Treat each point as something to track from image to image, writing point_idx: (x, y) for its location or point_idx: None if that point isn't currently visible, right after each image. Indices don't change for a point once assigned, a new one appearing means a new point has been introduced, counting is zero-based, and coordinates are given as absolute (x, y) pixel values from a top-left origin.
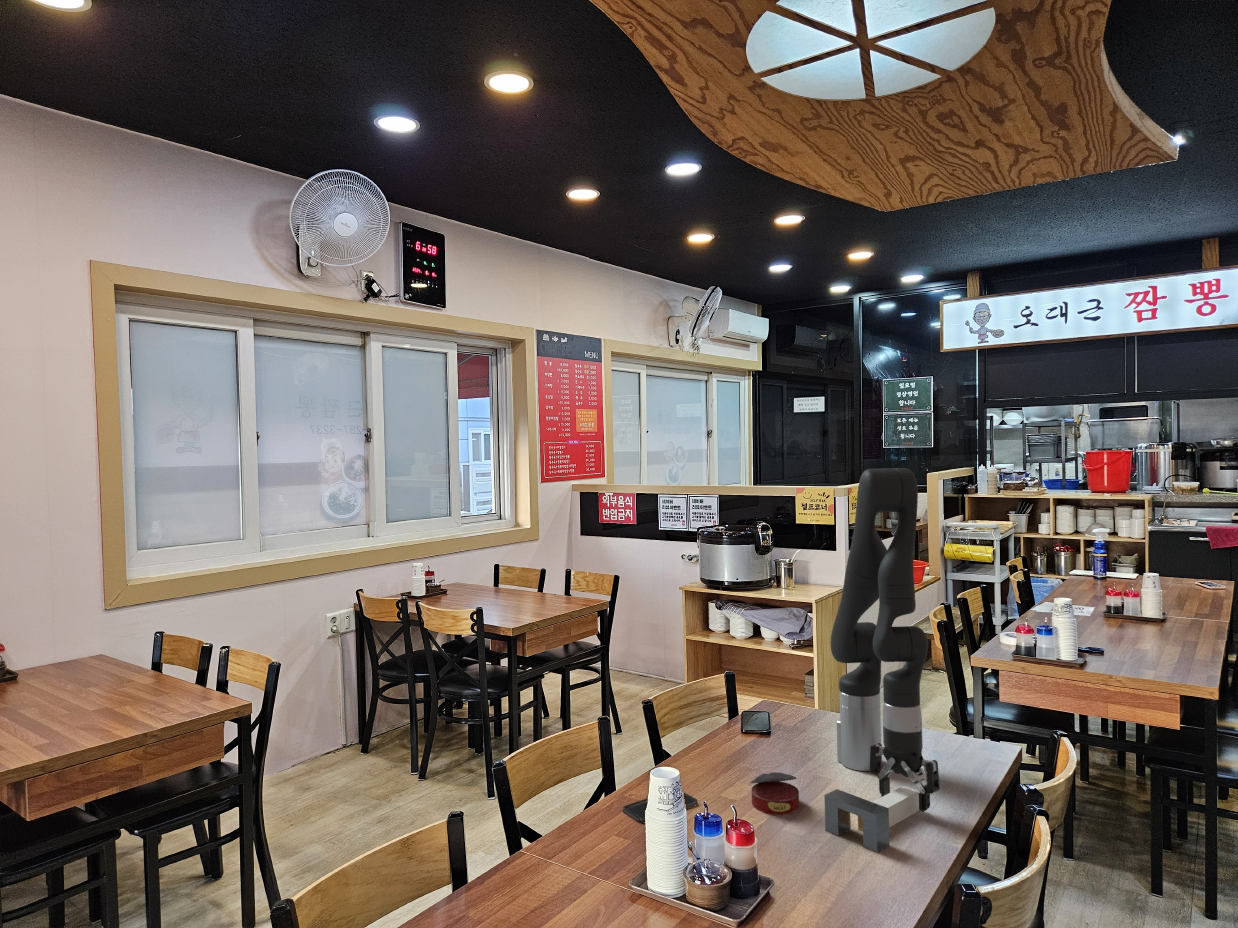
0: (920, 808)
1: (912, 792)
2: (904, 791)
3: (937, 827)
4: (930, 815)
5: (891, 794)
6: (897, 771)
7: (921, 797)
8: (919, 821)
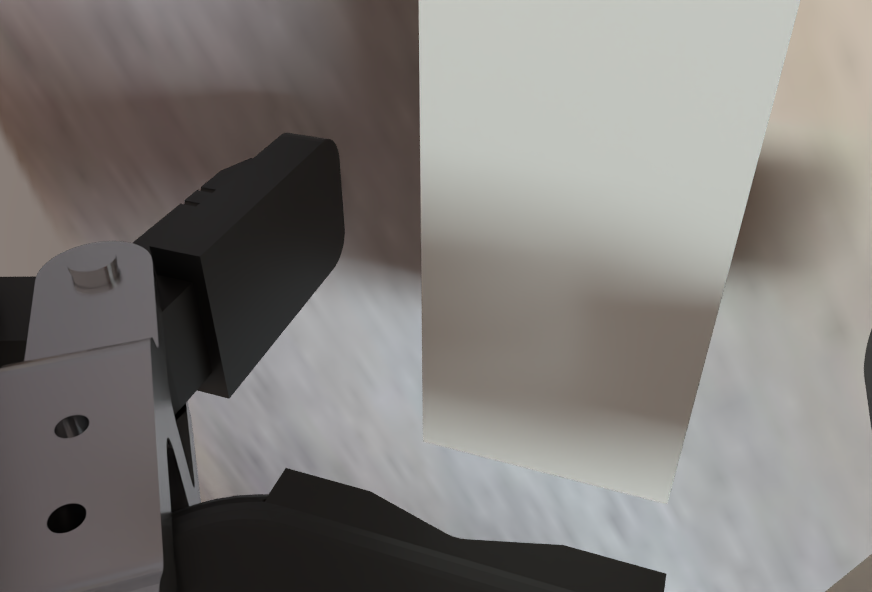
0: (299, 145)
1: (457, 372)
2: (561, 351)
3: (163, 36)
4: (359, 247)
5: (691, 125)
6: (535, 587)
7: (190, 216)
8: (352, 43)
